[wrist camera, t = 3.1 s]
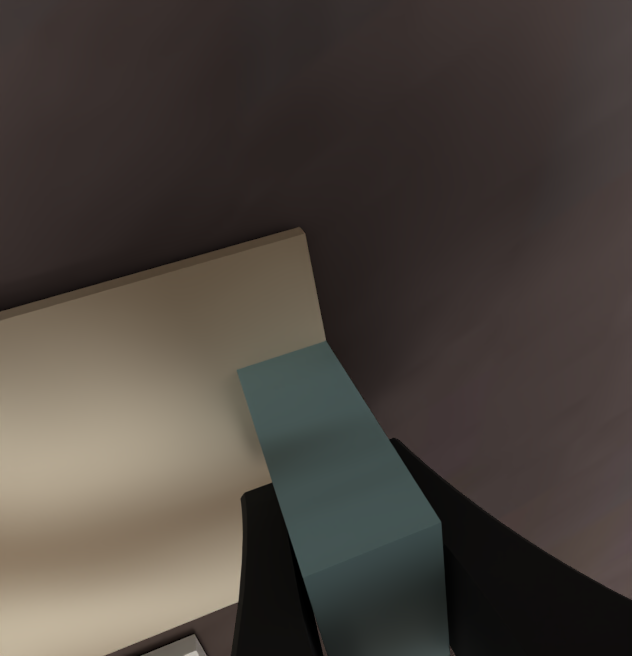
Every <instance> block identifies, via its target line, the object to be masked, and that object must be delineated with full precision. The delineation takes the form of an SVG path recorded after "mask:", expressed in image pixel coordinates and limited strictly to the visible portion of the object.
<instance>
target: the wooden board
mask: <svg viewBox="0 0 632 656" xmlns="http://www.w3.org/2000/svg"><path fill="white" fill-rule="evenodd" d="M269 483H273V486H274V489H275V492H276V495H277V498H278V502H279V505H280V508H281V511H282V514H283V517H284V520H285V523H286V527H287V530H288V533H289V536H290V539H291V542H292V545H293V549H294V552H295V555H296V558H297V561H298V564H299V567H300V571H301V574H302V577H303V580H304V583H305V586H306V589H307V593H308V596H309V599H310V602H311V605H312V608H313V611H314V615H315V618H316V621H317V624H318V627H319V630H320V633H321V637H322V640H323V643H324V646H325V649H326V652H327V655H328V656H450V647H449V632H448V617H447V602H446V586H445V571H444V556H443V541H442V525H441V521H440V519H439V518H438V516H437V515H436V513H435V511H434V510H433V508H432V507H431V505H430V504H429V502H428V500H427V499H426V497H425V496H424V494H423V493H422V491H421V489H420V488H419V486H418V485H417V483H416V482H415V480H414V478H413V477H412V475H411V474H410V472H409V471H408V469H407V467H406V466H405V464H404V463H403V461H402V460H401V458H400V456H399V455H398V453H397V452H396V450H395V449H394V447H393V445H392V444H391V442H390V441H389V439H388V438H387V436H386V434H385V433H384V431H383V430H382V428H381V426H380V425H379V423H378V422H377V420H376V419H375V417H374V415H373V414H372V412H371V411H370V409H369V408H368V406H367V404H366V403H365V401H364V400H363V398H362V397H361V395H360V393H359V392H358V390H357V389H356V387H355V386H354V384H353V382H352V381H351V379H350V378H349V376H348V375H347V373H346V371H345V370H344V368H343V367H342V365H341V364H340V362H339V360H338V359H337V357H336V356H335V354H334V353H333V351H332V349H331V348H330V346H329V345H328V343H327V341H326V338H325V333H324V328H323V322H322V317H321V312H320V307H319V302H318V297H317V292H316V287H315V281H314V276H313V271H312V266H311V261H310V256H309V251H308V245H307V240H306V235H305V233H304V232H303V230H302V229H301V228H300V227H297V228H294V229H290V230H287V231H283V232H280V233H276V234H273V235H269V236H266V237H262V238H258V239H255V240H251V241H248V242H244V243H241V244H237V245H234V246H230V247H227V248H223V249H220V250H216V251H213V252H209V253H205V254H202V255H198V256H195V257H191V258H188V259H184V260H181V261H177V262H174V263H170V264H167V265H163V266H160V267H156V268H152V269H149V270H145V271H142V272H138V273H135V274H131V275H128V276H124V277H121V278H117V279H114V280H110V281H107V282H103V283H100V284H96V285H92V286H89V287H85V288H82V289H78V290H75V291H71V292H68V293H64V294H61V295H57V296H54V297H50V298H47V299H43V300H39V301H36V302H32V303H29V304H25V305H22V306H18V307H15V308H11V309H8V310H4V311H1V312H0V656H104V655H107V654H109V653H112V652H114V651H117V650H119V649H122V648H124V647H127V646H129V645H132V644H134V643H137V642H139V641H142V640H144V639H147V638H149V637H152V636H154V635H157V634H159V633H162V632H164V631H167V630H169V629H172V628H174V627H177V626H179V625H182V624H184V623H187V622H189V621H192V620H194V619H197V618H199V617H202V616H204V615H207V614H209V613H212V612H214V611H217V610H219V609H222V608H224V607H227V606H229V605H232V604H234V603H237V602H238V600H239V588H240V576H241V564H242V540H243V527H242V508H241V500H240V498H241V497H242V495H243V494H244V493H245V492H247V491H250V490H253V489H256V488H258V487H261V486H264V485H266V484H269Z"/></svg>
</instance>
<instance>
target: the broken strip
mask: <svg viewBox="0 0 632 656" xmlns="http://www.w3.org/2000/svg"><path fill="white" fill-rule="evenodd" d="M141 656H207V655H206V654H205V652H204V650H203V648H202V646H201V645H200V643H199V641H198V639H197V638H196V636H195V634H193V635H191V636H188V637H186V638H183V639H181V640H178V641H176V642H173V643H171V644H169V645H166V646H164V647H161V648H159V649H156V650H154V651H151V652H149V653H146V654H144V655H141Z"/></svg>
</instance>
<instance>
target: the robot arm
mask: <svg viewBox="0 0 632 656" xmlns="http://www.w3.org/2000/svg"><path fill="white" fill-rule="evenodd" d="M389 441H390V442H391V444H392V445H393V447H394V449H395V450H396V452H397V453H398V455H399V456H400V458H401V460H402V461H403V463H404V464H405V466H406V467H407V469H408V471H409V472H410V474H411V475H412V477H413V478H414V480H415V482H416V483H417V485H418V486H419V488H420V489H421V491H422V493H423V494H424V496H425V497H426V499H427V500H428V502H429V504H430V505H431V507H432V508H433V510H434V511H435V513H436V515H437V516H438V518H439V519H440V521H441V525H442V541H443V556H444V571H445V586H446V602H447V617H448V632H449V645H450V646H451V648H452V650H453V651H454V653H455V655H456V656H632V600H631V599H629V598H627V597H625V596H623V595H621V594H619V593H617V592H615V591H613V590H611V589H609V588H607V587H605V586H604V585H602V584H600V583H598V582H596V581H595V580H593V579H591V578H589V577H588V576H586V575H584V574H582V573H580V572H579V571H577V570H575V569H573V568H572V567H570V566H568V565H567V564H565V563H563V562H562V561H560V560H558V559H557V558H555V557H553V556H552V555H550V554H548V553H547V552H545V551H544V550H542V549H540V548H539V547H537V546H536V545H534V544H533V543H531V542H529V541H528V540H526V539H525V538H523V537H522V536H520V535H519V534H517V533H516V532H514V531H513V530H512V529H510V528H509V527H507V526H506V525H504V524H503V523H501V522H500V521H498V520H497V519H496V518H494V517H493V516H491V515H490V514H489V513H487V512H486V511H484V510H483V509H482V508H480V507H479V506H478V505H476V504H475V503H474V502H473V501H471V500H470V499H469V498H467V497H466V496H465V495H463V494H462V493H461V492H459V491H458V490H457V489H455V488H454V487H453V486H452V485H450V484H449V483H448V482H447V481H445V480H444V479H443V478H442V477H441V476H439V475H438V474H437V473H436V472H434V471H433V470H432V469H431V468H430V467H429V466H427V465H426V464H425V463H424V462H423V461H422V460H420V459H419V458H418V457H417V456H416V455H415V454H414V453H413V452H411V451H410V450H409V449H408V448H407V447H406V446H405V445H404V444H403V443H402V442H401V441H400V440H398V439H396V438H392V439H389ZM240 500H241V508H242V527H243V540H242V564H241V576H240V588H239V600H238V609H237V616H236V624H235V631H234V638H233V645H232V652H231V656H323V652H322V647H321V643H320V639H319V634H318V630H317V626H316V621H315V617H314V612H313V608H312V605H311V602H310V599H309V596H308V593H307V589H306V586H305V583H304V580H303V577H302V574H301V571H300V567H299V564H298V561H297V558H296V555H295V552H294V549H293V545H292V542H291V539H290V536H289V533H288V530H287V527H286V523H285V520H284V517H283V514H282V511H281V508H280V505H279V502H278V498H277V495H276V492H275V489H274V486H273V483H269V484H266V485H264V486H261V487H258V488H256V489H253V490H250V491H247V492H245V493H244V494H243V495H242V497H241V498H240Z"/></svg>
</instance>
